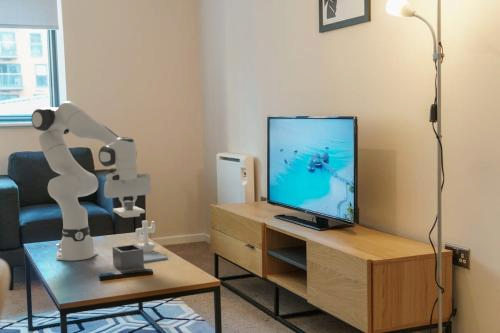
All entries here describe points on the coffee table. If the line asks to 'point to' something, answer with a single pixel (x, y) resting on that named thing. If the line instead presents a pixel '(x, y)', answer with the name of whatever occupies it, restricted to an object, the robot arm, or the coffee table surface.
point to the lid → (129, 210)
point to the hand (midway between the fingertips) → (128, 206)
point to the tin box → (128, 257)
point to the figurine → (145, 236)
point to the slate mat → (154, 257)
